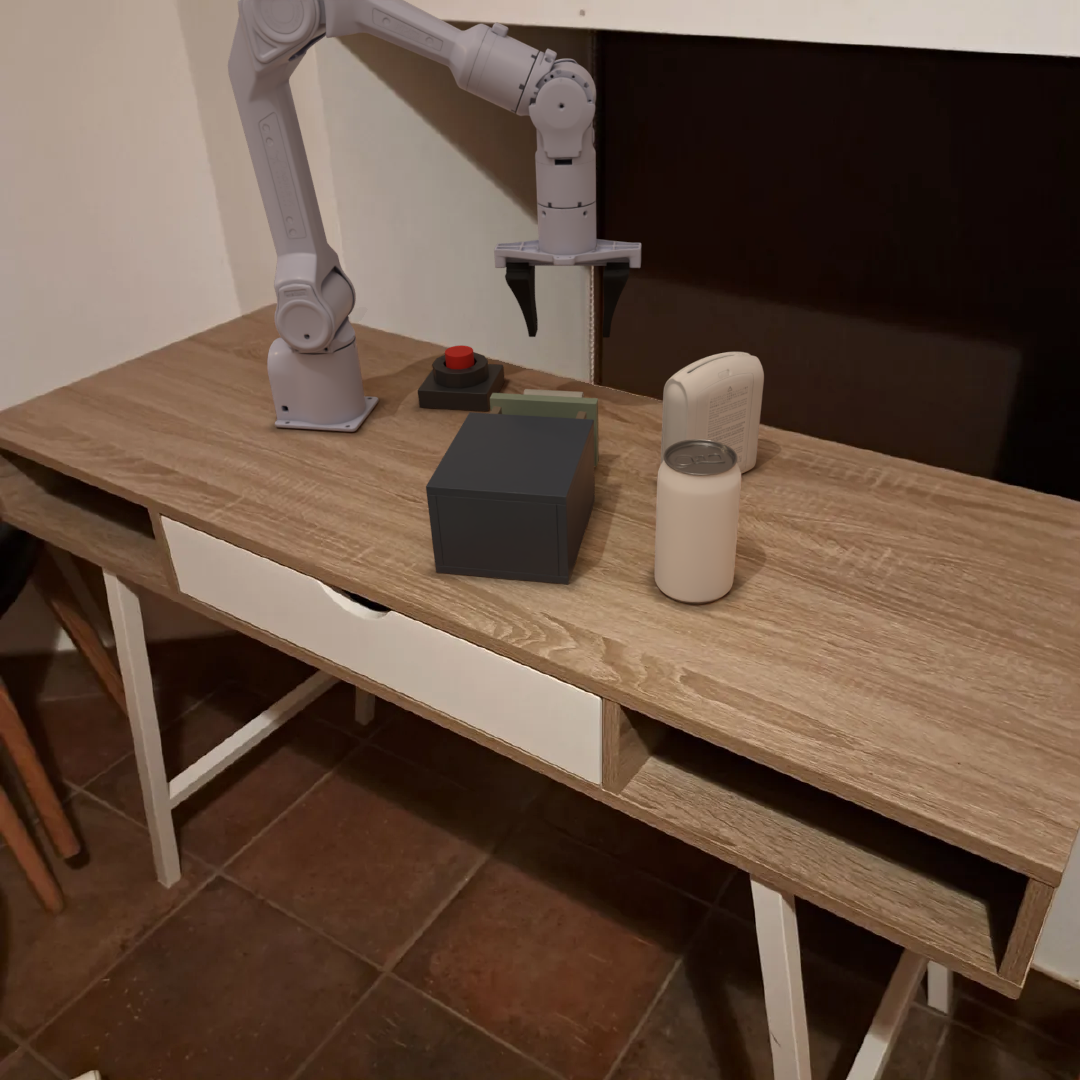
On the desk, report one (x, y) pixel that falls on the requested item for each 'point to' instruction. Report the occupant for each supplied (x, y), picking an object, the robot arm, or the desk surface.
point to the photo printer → (716, 404)
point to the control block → (461, 385)
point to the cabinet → (513, 497)
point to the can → (697, 520)
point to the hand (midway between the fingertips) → (569, 333)
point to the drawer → (549, 407)
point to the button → (459, 357)
